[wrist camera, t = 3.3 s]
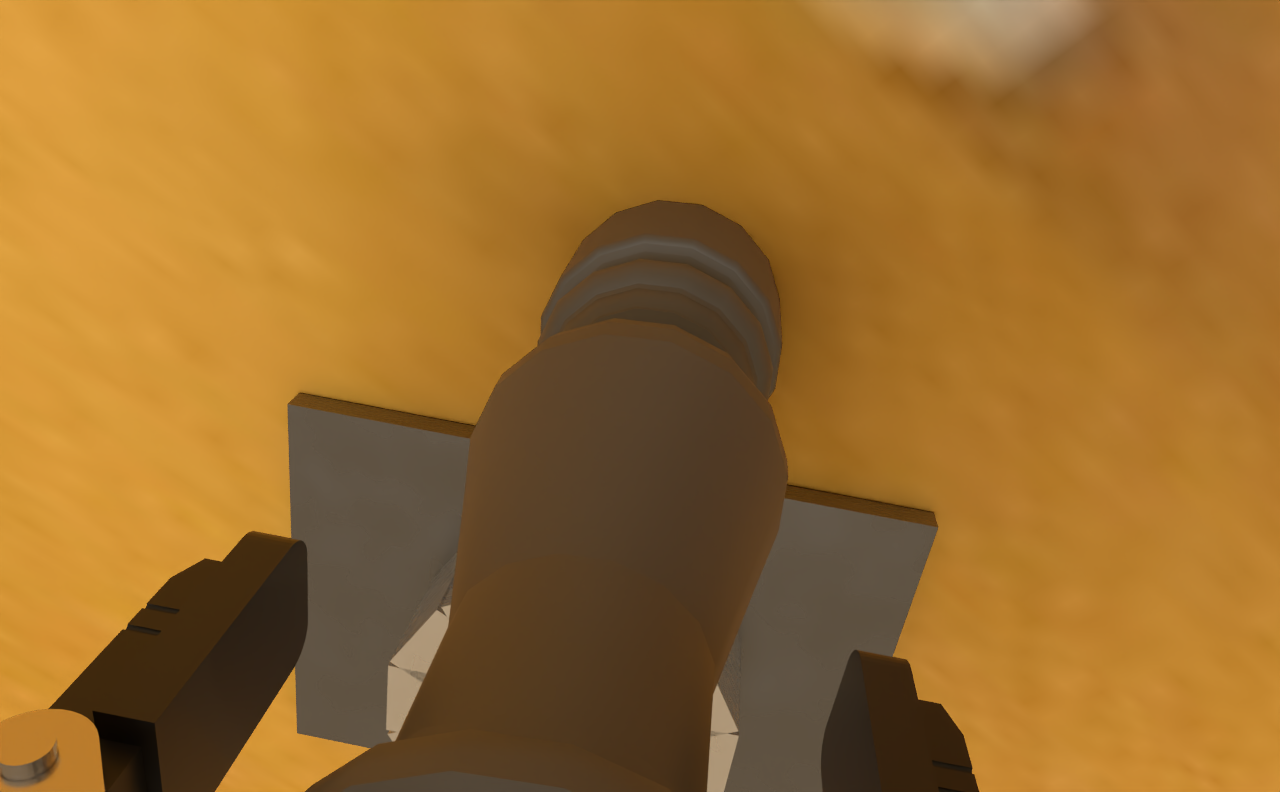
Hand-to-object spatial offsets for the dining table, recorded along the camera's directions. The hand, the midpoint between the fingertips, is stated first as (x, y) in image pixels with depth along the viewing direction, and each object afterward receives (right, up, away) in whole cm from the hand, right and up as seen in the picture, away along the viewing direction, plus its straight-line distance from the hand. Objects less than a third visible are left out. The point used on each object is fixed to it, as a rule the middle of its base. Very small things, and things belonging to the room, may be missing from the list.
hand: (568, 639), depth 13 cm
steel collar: (-1, -4, +18) cm, 19 cm away
